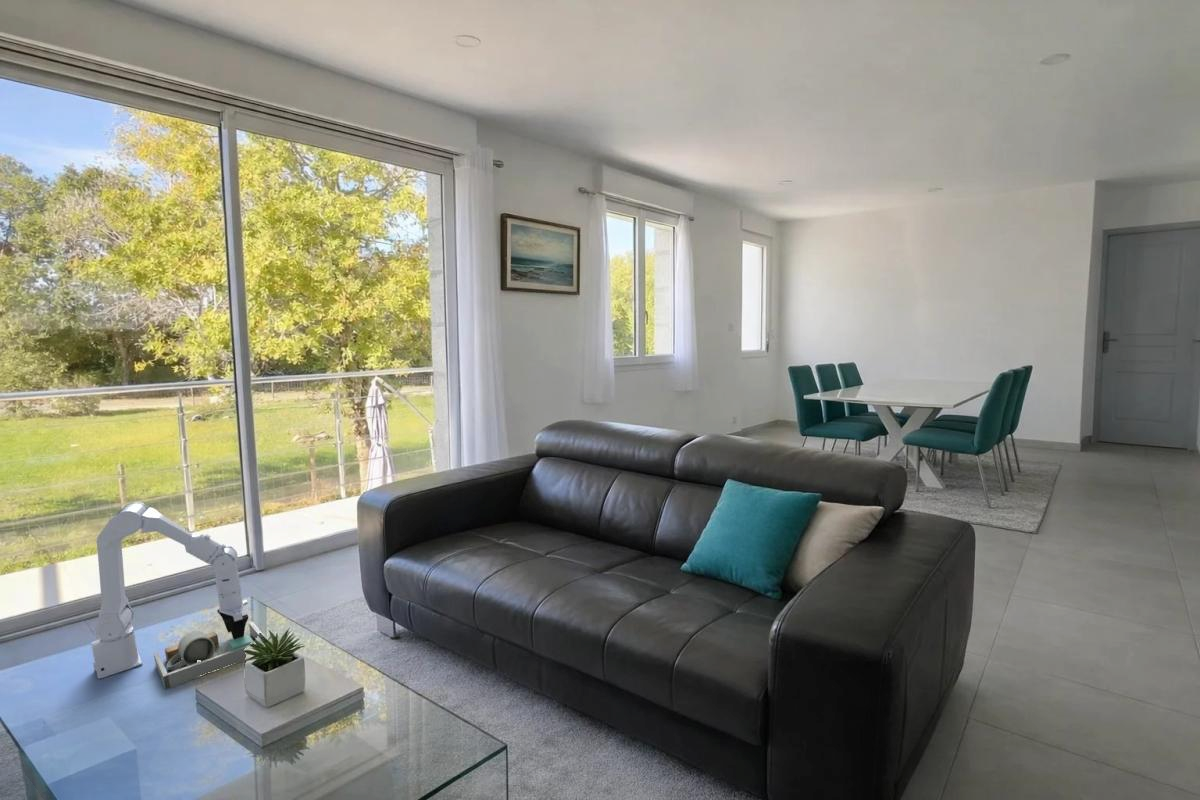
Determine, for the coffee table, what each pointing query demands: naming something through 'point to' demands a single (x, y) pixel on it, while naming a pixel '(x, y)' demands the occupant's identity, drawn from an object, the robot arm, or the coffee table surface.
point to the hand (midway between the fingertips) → (235, 635)
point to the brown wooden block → (173, 649)
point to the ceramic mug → (192, 650)
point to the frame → (202, 664)
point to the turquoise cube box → (240, 642)
